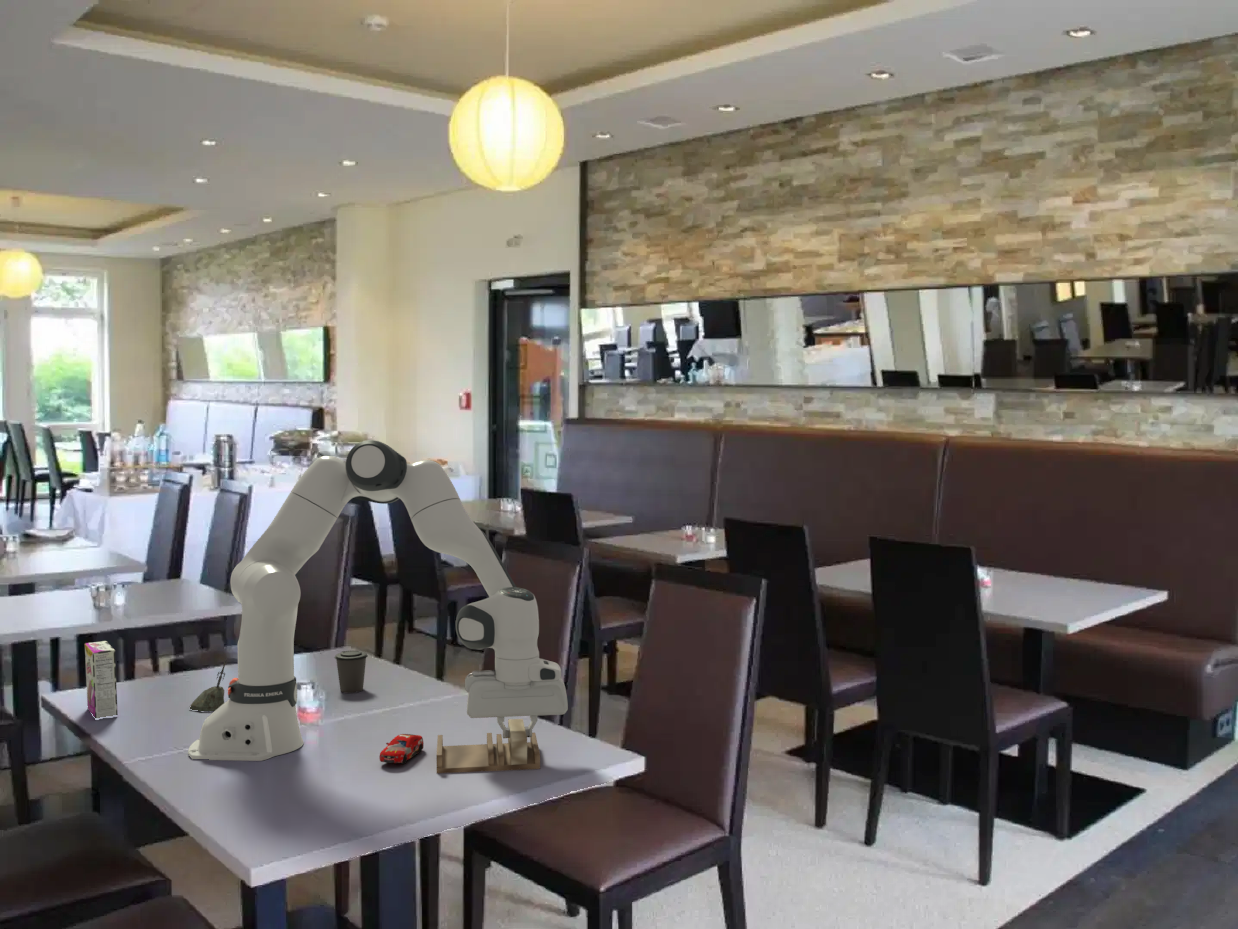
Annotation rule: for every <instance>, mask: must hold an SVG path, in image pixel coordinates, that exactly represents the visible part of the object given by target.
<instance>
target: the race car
mask: <svg viewBox="0 0 1238 929" xmlns="http://www.w3.org/2000/svg"><path fill="white" fill-rule="evenodd" d="M385 744H386V745H387V746H385V747H384V748H383V750H381V751H380V752H379V761H380V763H385V764H386V763H387V764H401V765H405V764H406V763H407V761H408V760H411V758H413V757H414V756H416V755H417V754H421V753H422V750H424V738H423V736H422V735H419V734H412V733H400V734H398V735H396V736H395V737H394V738H392V739H391V740H390V742H385Z"/></svg>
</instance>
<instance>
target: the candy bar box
mask: <svg viewBox="0 0 1238 929" xmlns="http://www.w3.org/2000/svg"><path fill="white" fill-rule="evenodd" d="M84 655H85V656H84V657H85V660H84V661H85V677H86V680H85V681H86V683H85V684H86V699H87V700H86V701H87V703H86V704H87V706H88V707H87V710H88V709H89V711H90V712H91V713H92V714H93V716H94V717H95V718H100V717H106V716H113V715H118V690H117V668H116V650H115V649H114V648H113V646H111V644H110V643H109V642H108V641H107V640H102V641H94V642H85V643H84ZM89 711H88V712H89Z"/></svg>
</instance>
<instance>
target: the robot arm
mask: <svg viewBox="0 0 1238 929" xmlns="http://www.w3.org/2000/svg"><path fill="white" fill-rule="evenodd" d="M353 498H355V499H357V500H359V501H364V502H370V503H375V504H380V505H382V504H383V505H384V504H385V505H386V504H388V505H389V504H393V503H394V502H397V501H398V500H401V501H402V503H403V504H404V506H405V508H406V510H407V513H408V515H409V517H410V521H411V523H412V526H413V529H414V531H415V533H416V535H417V536H418V538H419V540H420V541H421V542H422V544H423V545H424V546H425V547H427V548H428V549H429V550H432V551H434V552H436V553H440V554H444V555H448V556H451V557H455V558H457V559H460V560H461V561H463V562H465V563H467V564H468V565H469V566H471V568H472V569H473V570H474V571H473V572H475V573H476V576H477V578H478V579H479V582H481V583H480V584H482V586H483V588H484V590H485V591H486V593H487V595H488V597H486V598H483V599H481V600H478V601H475V602H471V603H468V604H466V605H464V606H462V607H461V608H460V609H459V611H458V612H457V615H456V618H455V619H456V620H455V632H456V635H457V638H458V640H459V641H460V642H461V643H462V645H463V646H465V647H466V648H468V649H471V650H484V649H489V648H490V649H493V650H494V669H490V670H489V669H488V670H487V669H486V670H473V671H472V672H470V673H469V674H467V675H466V676H465V678H464V688H465V691H466V692H467V693H468V694H467V700H466V702H467V703H466V714H467V716H468V717H469V718H471V719H478V718H479V719H481V718H482V719H483V718H496V722H497V724H498V725H499V727H500V730H502V739H508V738H510V727H508V726H506V725H505V724H504V722H505V718H508V717H529V719H530V722H529V724H528V726H524V728H525V731H526V736H527V738H530V737H532V733H533V729H534V728H535V726H536V724H537V722H538V721H539V720H538V718H539V717H538V716H555V715H556V716H559V715H560V716H561V715H565V714H566V713H567V711H568V709H569V708H568V706H569V705H568V695H567V689H566V686H565V683H564V680H563V678H562V669H561V666H560V665H559V663H557V662H554V661H550V660H547V659H544V658H540V651H539V648H538V637H539V633H540V618H539V616H540V615H539V606H538V602H537V599H536V596H535V594H534V593H533V592H532V591H530V590H528V589H526V588H521V587H517V584H515V582H514V580H513V579H512V577H511V575H510V573H509V572H508V569H507V568H506V566H505V565H504V563H503V561H502V559H501V557H500V555H499V554H498V552H497V550H496V548H495V547H494V545H493V544H492V542H491V540H490V539H489V537H488V536H487V535H486V533H485V532H484V531H483V530H482V529H480V528H479V526H477V524H476V523H475V522H474V521H473V520H472V518H471V516H470V515H469V514H468V512H467V511H466V508H465V507H464V505H463V503H462V500H461V498H460V496H459V493H458V491H457V490H456V488H455V485H454V483H453V482H452V481H451V478H450V476H448V473H447V472H446V471H445V470H444V468H443V466H441V464H440V463H438V462H436V461H435V460H429V459H425V460H424V459H423V460H422V459H421V460H419V461H418V460H417V461H416V462H413V463H407V459H406V458H405V457H404V456H403V455H402V454H400V453H399V452H398V451H396V450H395V449H394V448H392V447H391V446H389V445H387V444H386V443H384V442H381V441H379V440H375V439H367V440H363V441H361V442H359V443H357V444H355V445H354V446H353V447H352V448H351V449H350V450H349V451H348V454H347V455H346V459H345V460H343V459H342V458H339V457H337V456H332V455H322V456H320V457H318V458H316V459H315V460H314V461H313V462H312V463H311V464H310V465H309V466H308V468H307V469H306V470H305V471H304V472H303V474H302V475H301V476H300V477H299V479H298V480H297V482H296V483H295V485H294V486H293V488H292V489H291V490H290V492H289V494H288V496H287V497H286V499H285V500H284V502H283V503H282V505H281V507H280V508H279V510H278V511H277V513H276V515H275V516H274V518H273V519H272V521H271V523H270V524H269V525H268V527H267V528H266V529H265V531H264V532H263V533H262V534H261V535H260V537H259V538H258V539H257V540H256V541H255V543H254V544H253V545H252V547H251V548H250V549H249V550H248V552H246V554H245V555H244V556H243V558H242V560H241V561H239V563H238V564H236V566H235V567H234V568H233V570H232V572H231V576H230V590H231V593H232V596H233V597H234V599H235V600H236V601H237V602H238V603H239V604H241V624H240V629H239V630H240V631H239V637H238V641H237V646H236V647H237V677H233V678H232V679H231V680H230V681H229V683H228V687H227V695H228V698H229V699H227V701H224V704H223V705H221V706H220V707H219V708H218V709H217V710H215V711H214V712H211V714H209V715H208V716H207V717H206V718H205V719H204V721H203V723H202V726H201V729H200V733H199V738H198V739H195V741H193V742H192V743H191V744H190V746H189V747H188V750H187V755H188V754H189V756H190V757H191V758H192V759H191V760H193V759H209V760H208V761H236V762H237V761H239V762H241V761H242V762H245V761H246V762H249V761H250V762H256V761H257V762H262V761H266V760H268V759H271V758H273V757H276V756H280V755H281V756H282V755H284V754H288V753H291V752H294V751H296V750H299V749H300V748H301V747H302V746H303V745H304V739H303V737H302V736H303V735H302V733H301V729H300V725H299V719H298V712H297V706H296V705H297V702H298V683H297V677H296V676H295V664H294V662H295V660H294V658H295V657H294V654H295V653H294V648H295V647H294V646H295V645H294V644H295V643H294V641H295V630H296V626H297V625H296V624H297V618H298V617H297V616H298V609H299V608H298V607H299V602H300V600H301V595H302V594H301V587H300V583H299V581H298V579H297V576H296V574H298V572H299V570H301V569H302V567H303V566H304V565H305V564H306V563H307V561H308V560H309V559H310V558H311V557H312V556H314V555H315V554H316V553H317V552H318V551H319V550H320V548H321V546H322V545H323V543H324V542H325V539H326V538H327V536H328V535H329V533H330V531H331V530H332V529H333V526H334V525H335V523H336V521H337V520H338V518H339V516H340V515H341V513H342V511H343V509H344V508H345V506H346V505H347V503H348V502H349V501H351V500H352V499H353Z"/></svg>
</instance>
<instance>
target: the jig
mask: <svg viewBox="0 0 1238 929" xmlns="http://www.w3.org/2000/svg"><path fill="white" fill-rule="evenodd" d="M443 737H444V735H443V734H438V735H437V743H436V758H435V759H436V774H449V773H451V774H453V773H456V774H457V773H476V772H477V773H479V772H499V771H500V772H501V771H502V772H503V771H522V770H524V771H525V770H527V771H528V770H540V769H541V753H540V748H539V743H538V739H537V734H536V732H532V737H529V740H530V741H527V764H520V765H512V764H511V758H510V752H509V745H508V742H505V743H504V742H503V734H501V733H497V734H496V743H494V742H493V733H492V732H486V743H484V744H483V743H481V744H461V745H459V744H458V745H444V738H443Z"/></svg>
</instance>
